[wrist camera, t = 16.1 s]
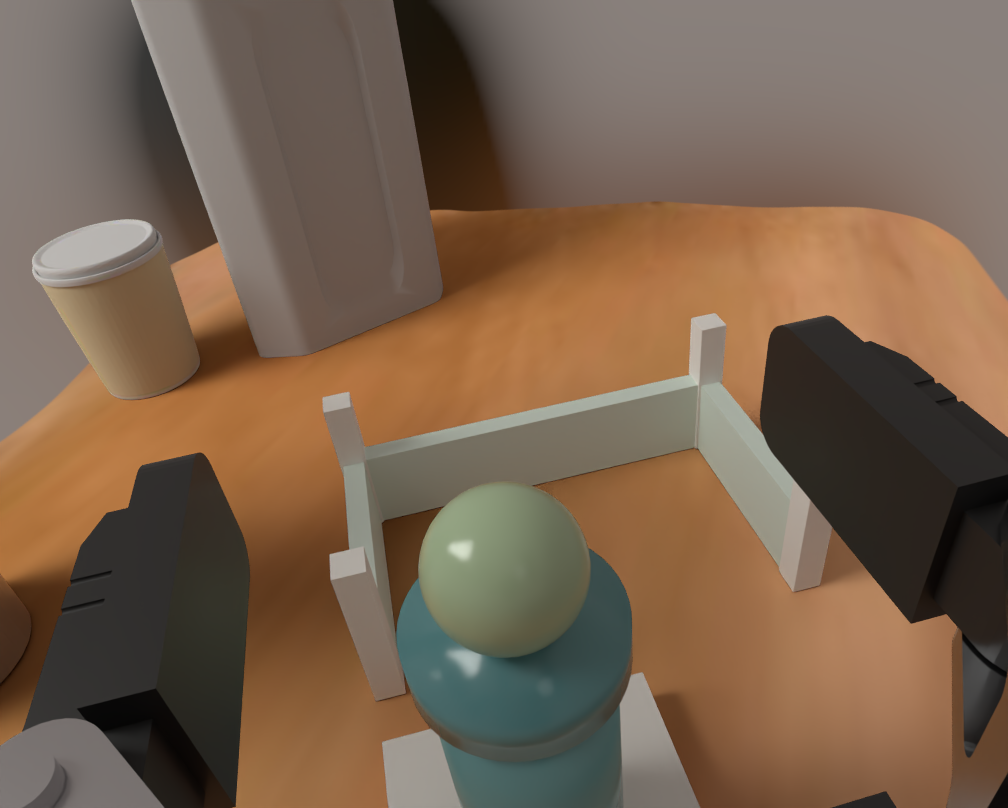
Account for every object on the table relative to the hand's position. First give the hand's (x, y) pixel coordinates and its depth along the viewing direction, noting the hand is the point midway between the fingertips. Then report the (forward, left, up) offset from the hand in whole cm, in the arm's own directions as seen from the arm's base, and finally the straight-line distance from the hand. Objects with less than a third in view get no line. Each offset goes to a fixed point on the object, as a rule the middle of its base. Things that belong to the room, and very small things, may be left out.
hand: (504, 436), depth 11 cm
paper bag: (-51, +25, -26) cm, 63 cm away
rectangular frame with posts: (-15, +15, -26) cm, 34 cm away
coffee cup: (-55, +6, -26) cm, 61 cm away
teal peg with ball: (-4, +3, -24) cm, 25 cm away
